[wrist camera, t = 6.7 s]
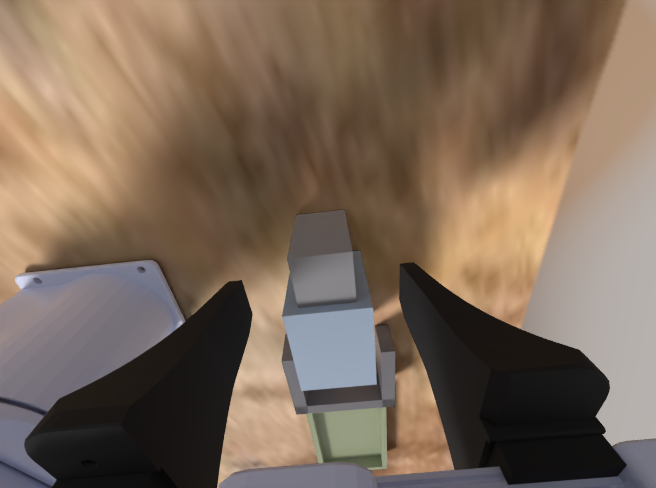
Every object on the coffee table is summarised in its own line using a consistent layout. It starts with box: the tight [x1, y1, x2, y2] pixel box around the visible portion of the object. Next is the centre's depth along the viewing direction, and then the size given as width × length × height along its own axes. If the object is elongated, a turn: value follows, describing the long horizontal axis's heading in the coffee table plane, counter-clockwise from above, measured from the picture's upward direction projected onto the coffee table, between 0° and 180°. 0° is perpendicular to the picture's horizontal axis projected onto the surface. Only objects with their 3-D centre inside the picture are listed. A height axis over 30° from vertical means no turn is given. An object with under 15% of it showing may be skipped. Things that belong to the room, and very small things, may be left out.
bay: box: [282, 325, 395, 414], centre depth 23 cm, size 8×6×2 cm
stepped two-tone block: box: [282, 210, 377, 391], centre depth 17 cm, size 4×9×6 cm, turn 6°
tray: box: [306, 407, 387, 470], centre depth 28 cm, size 7×12×2 cm, turn 6°
